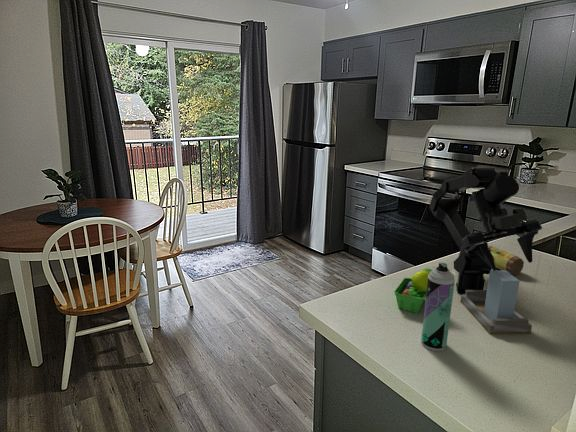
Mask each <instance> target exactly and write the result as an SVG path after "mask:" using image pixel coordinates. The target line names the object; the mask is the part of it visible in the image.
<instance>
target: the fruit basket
mask: <svg viewBox="0 0 576 432" xmlns="http://www.w3.org/2000/svg"><path fill="white" fill-rule="evenodd" d="M431 270H432V268H428V267H426V268H424V269H423V270H422V271H417V272H415V273H414V274H412V276H411V277H404V278H403V279H402V281H401V282H400V283H399V285H398V286H397V287H396V288H395V290H394V291H393V292H394V295H395V298H396V299H395V300H396V303H397V308H398V309H399V308H401V310H404V309H405V310H404V311H407V310H408V311H407V312H413V313H415V314H418V313H419V312H420V309H421V308H422V306H423V304H424V302H425V301H426V292H427V283H428V275H429V272H430V271H431ZM423 301H424V302H423Z"/></svg>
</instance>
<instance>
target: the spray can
mask: <svg viewBox="0 0 576 432" xmlns="http://www.w3.org/2000/svg"><path fill="white" fill-rule="evenodd" d="M455 281H456V275H455V274H454V273H453V272H450V269H449V268H448V264H447V263H444V262H439V263H438V266H437V267H435V269H431V271H430V272H429V275H428V283H427V292H426V298H425V300H424V302H425V303H424V312H423V321H422V329H421V340H420V343H421V345H422V347H423V348H425V349H426V350H430V351H431V350H432V352H443V351H445V350H446V348H447V344H448V337H449V336H448V335H449V329H450V321H451V315H452V314H451V313H452V304H453V300H454V299H453V298H454V291H455V290H454V289H455Z"/></svg>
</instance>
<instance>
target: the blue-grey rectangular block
mask: <svg viewBox="0 0 576 432" xmlns="http://www.w3.org/2000/svg"><path fill="white" fill-rule="evenodd" d="M519 285H520V280H519V279H518V278H517V277H516V276H515V275H512V274H510V273H509V272H507V271H506V270H500V269H499V270H497V269H496V270H492V269H491V270H490V274H488V283H487V289H486V290H487V294H486V300H485V307H484V313H485V314H486V315H487V317H488V318H489V319H490V320H491V321H492V322H493V319H496V318H513V314H514V310H516V309H515V308H516V302H517V297H518V291H519V287H520V286H519Z"/></svg>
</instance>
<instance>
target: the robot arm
mask: <svg viewBox="0 0 576 432" xmlns="http://www.w3.org/2000/svg"><path fill="white" fill-rule="evenodd" d="M469 189H479V190H477V191H472V192H471V196H470V197H469V202H474V205H475V207H476V209H477V212H478V214H479V217H480V218H478V221H479V222H480V223H482V225H483V227H484V230H485V232H484V234H483V232H481V231H479V232H473V233H471V232H470V231H469V229H468V227H467V226H466V224H465V223H464V221H463V220H462V218H461V217H460V215H459V213H458V212H459V208H460V205H461V202H462V199H461V196H460V193H461V192H462V191H466V190H469ZM519 189H520V185H519V182H518V181H517V180H516V179H515V178H514V177H512V176H510V175H509V173H508V171H499V172H497V171H496V168H495V167H492V166H491V167H483V166H482V167H469V168H468V169H467V170H465V171H464V175H460V176H458V177H455V178H451V179H448V180H447V179H446V180H444V181H442V182H441V185H440V187H439V188H438V190H436V191H435V192H434V193H433V194H432V196H431V200H430V203H429V209H430V212H431V213H432V215H433V216H434V217H435V218H437V219H438V220H441V221H442V222H443V223H444V225H445V226H446V228H447V230H448V232H449V233H450V235H451V237H452V239H453V240H454V242H455V244H456V246H457V247H458V250H459V254H458V257H457V258H455V260H454V261H453V270H455V271H456V272H457V273H458V274H457V275H458V276H457V282H456V285H455V286H456V292H457V294H458V295H459V294H461V295H465V290H485V283H486V282H485V281H486V278H485V276H484V275H490V270H497V268H496V266H495V263H494V257H493V255H492V254H491V250H490V249H489V248H488V246H489V245H488V244H489V243H488V242H489V241H493V240H498V239H502V238H508V237H511V236H512V237H513V236H518V238H517V239H516V241H517V242H518V244H519V246H520V249H521V250H522V253H523V255H524V257H525V259H526V260H527V262H528V263H529V264H530V263H533V241H534V237H535V235H536V236H537V235H538V234H539V231H541V230H543V227H542V224H541V222H539V221H538V220H536V219H532V220H528V216H527V213H526V212H525V209H524V208H523V207H519V208H515V209H512V212H510V213H509V212H508V210H507V209H506V208H505V207H504V208H503V206H502V204H503V203H504V202H506V201H508V200H509V199H511V198H512V197H514V196H515V195H516V194H518V192H519ZM447 193H449V194H451V193H455V194H454V195H455V196H454V197H445V196H446V195H447ZM527 220H528V221H527Z"/></svg>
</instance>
